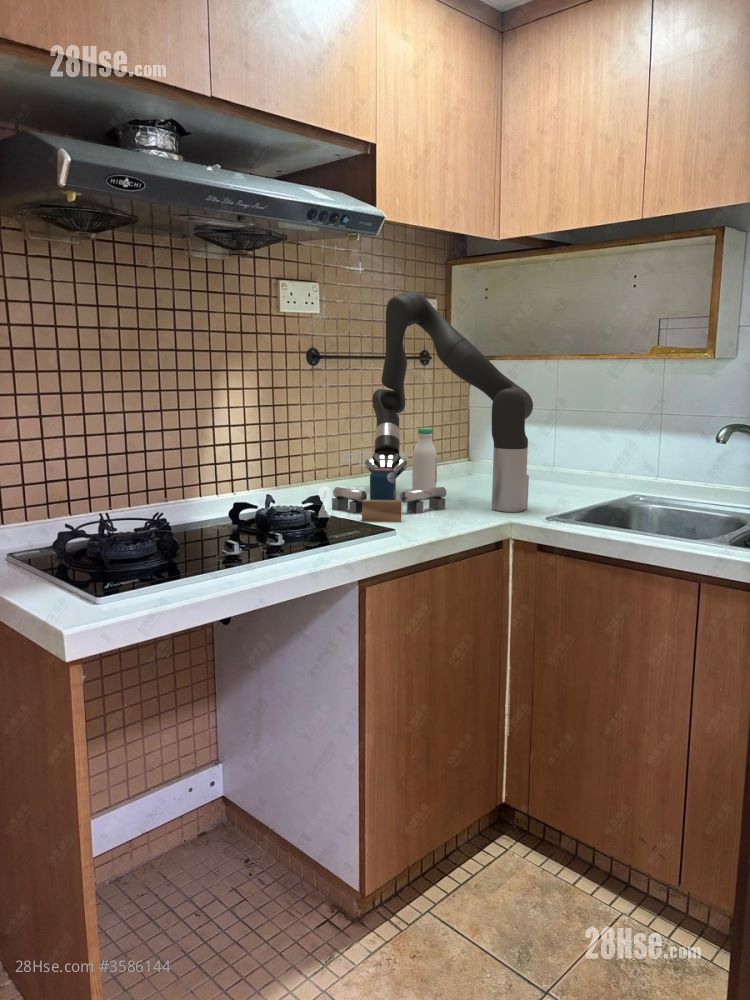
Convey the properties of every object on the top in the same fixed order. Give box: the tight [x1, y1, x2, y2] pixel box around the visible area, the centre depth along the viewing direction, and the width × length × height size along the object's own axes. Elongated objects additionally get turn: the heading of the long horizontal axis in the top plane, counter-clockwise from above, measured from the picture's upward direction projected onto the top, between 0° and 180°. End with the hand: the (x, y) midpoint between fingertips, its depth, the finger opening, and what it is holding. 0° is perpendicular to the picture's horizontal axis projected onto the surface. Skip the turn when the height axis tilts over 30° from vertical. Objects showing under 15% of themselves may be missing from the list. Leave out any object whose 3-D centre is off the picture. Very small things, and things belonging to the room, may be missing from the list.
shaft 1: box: [331, 486, 368, 514], centre depth 195 cm, size 10×4×6 cm, turn 47°
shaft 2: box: [399, 486, 447, 514], centre depth 196 cm, size 14×4×6 cm, turn 127°
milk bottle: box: [411, 427, 438, 490], centre depth 228 cm, size 8×8×20 cm
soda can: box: [369, 467, 397, 500], centre depth 192 cm, size 7×7×12 cm
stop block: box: [361, 499, 403, 523], centre depth 183 cm, size 3×10×5 cm, turn 87°
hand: (385, 488), depth 206 cm, fingers closed
